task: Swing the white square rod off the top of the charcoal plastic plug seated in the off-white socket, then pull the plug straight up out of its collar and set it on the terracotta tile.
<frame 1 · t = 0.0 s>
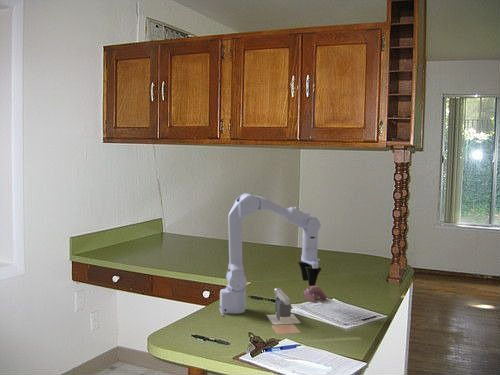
hand: (308, 283, 196), 10 cm above the worktop, tool pointing down, fingers open, 7 cm apart
plug: (283, 318, 183), point 1 cm above the worktop, touching socket
tile: (285, 331, 173), on the worktop
white square rod: (282, 295, 185), point 8 cm above the worktop, hinge at 0.0°
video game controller: (314, 301, 208), on the worktop
socket: (283, 321, 183), on the worktop
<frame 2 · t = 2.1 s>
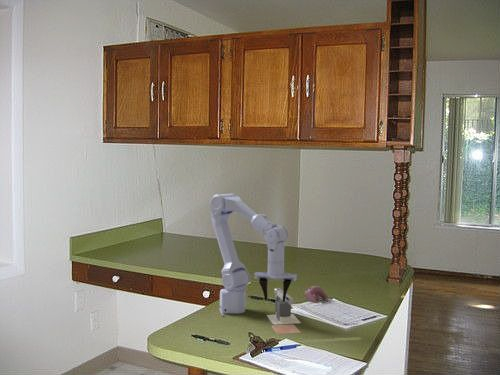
hand: (275, 299, 180), 8 cm above the worktop, tool pointing down, fingers open, 6 cm apart
white square rod: (283, 295, 185), point 8 cm above the worktop, hinge at 6.1°, touching gripper
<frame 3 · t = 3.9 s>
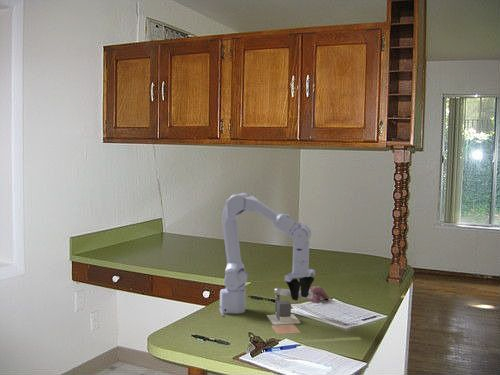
hand: (299, 298, 183), 8 cm above the worktop, tool pointing down, fingers open, 5 cm apart
white square rod: (293, 293, 188), point 8 cm above the worktop, hinge at 56.8°, touching gripper
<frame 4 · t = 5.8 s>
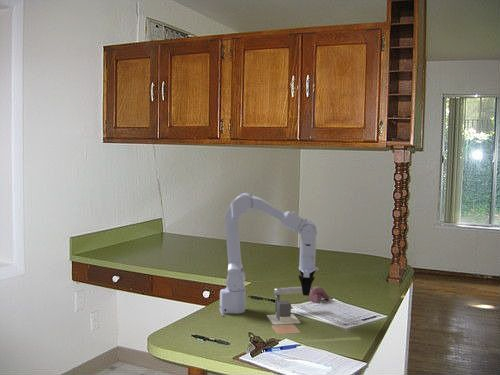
hand: (306, 292, 188), 9 cm above the worktop, tool pointing down, fingers open, 7 cm apart
white square rod: (292, 290, 192), point 8 cm above the worktop, hinge at 96.1°
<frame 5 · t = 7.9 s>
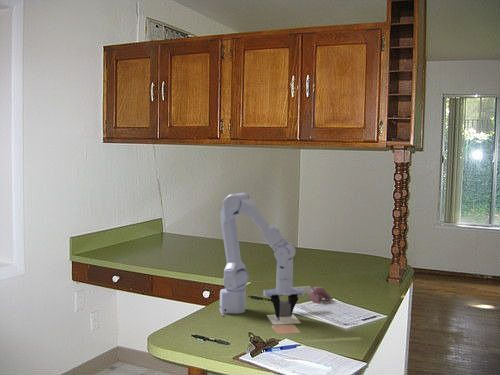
hand: (283, 315, 183), 2 cm above the worktop, tool pointing down, fingers closed on plug, 4 cm apart
plug: (283, 318, 183), point 1 cm above the worktop, touching gripper, socket
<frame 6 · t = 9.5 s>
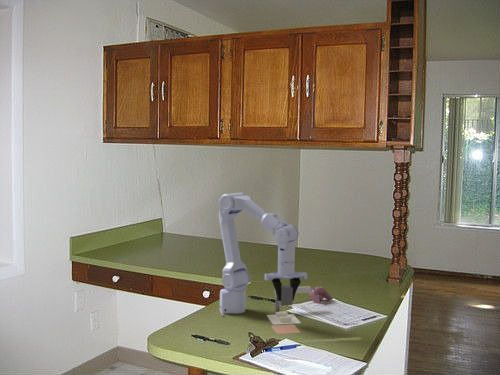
hand: (285, 300, 177), 9 cm above the worktop, tool pointing down, fingers closed on plug, 4 cm apart
plug: (285, 303, 178), point 8 cm above the worktop, touching gripper
when the fingers open (3 cm above the worktop, at t = 11.3 s): plug drops 1 cm, resting on tile.
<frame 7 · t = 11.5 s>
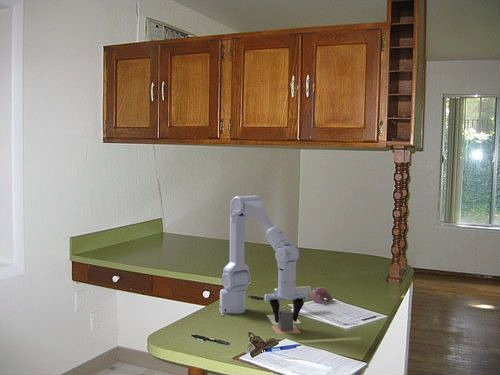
hand: (285, 321, 172), 3 cm above the worktop, tool pointing down, fingers open, 6 cm apart
plug: (285, 328, 173), point 1 cm above the worktop, touching tile
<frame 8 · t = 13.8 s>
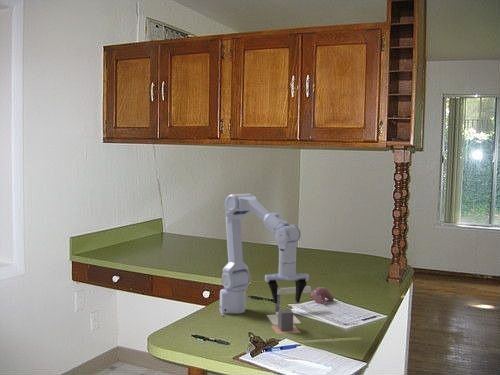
hand: (286, 302, 172), 10 cm above the worktop, tool pointing down, fingers open, 7 cm apart
at the end: white square rod at +96° (first picture: +0°); plug 0.2 cm off-centre on the tile, point 0.8 cm above the tile's base; plug tilted 0° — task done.
